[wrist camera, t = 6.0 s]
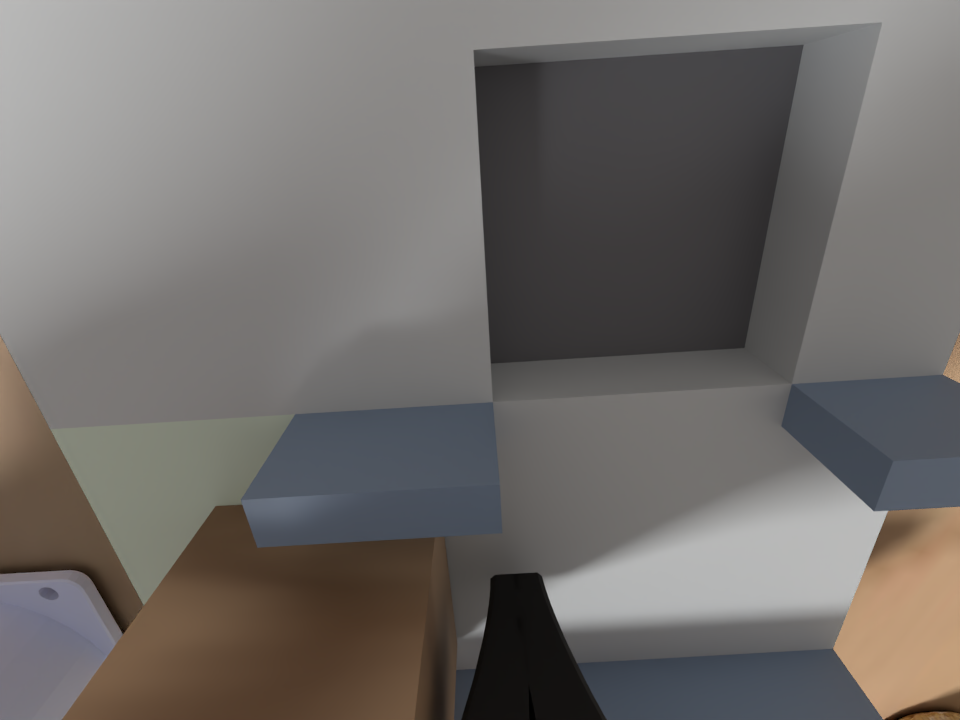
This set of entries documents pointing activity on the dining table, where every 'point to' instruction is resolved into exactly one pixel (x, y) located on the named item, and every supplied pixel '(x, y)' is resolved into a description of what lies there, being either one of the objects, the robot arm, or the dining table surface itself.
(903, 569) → the dining table surface
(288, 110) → the deck
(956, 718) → the sprinkles bottle
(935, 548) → the dining table surface
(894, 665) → the dining table surface
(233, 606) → the walnut block
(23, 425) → the dining table surface
